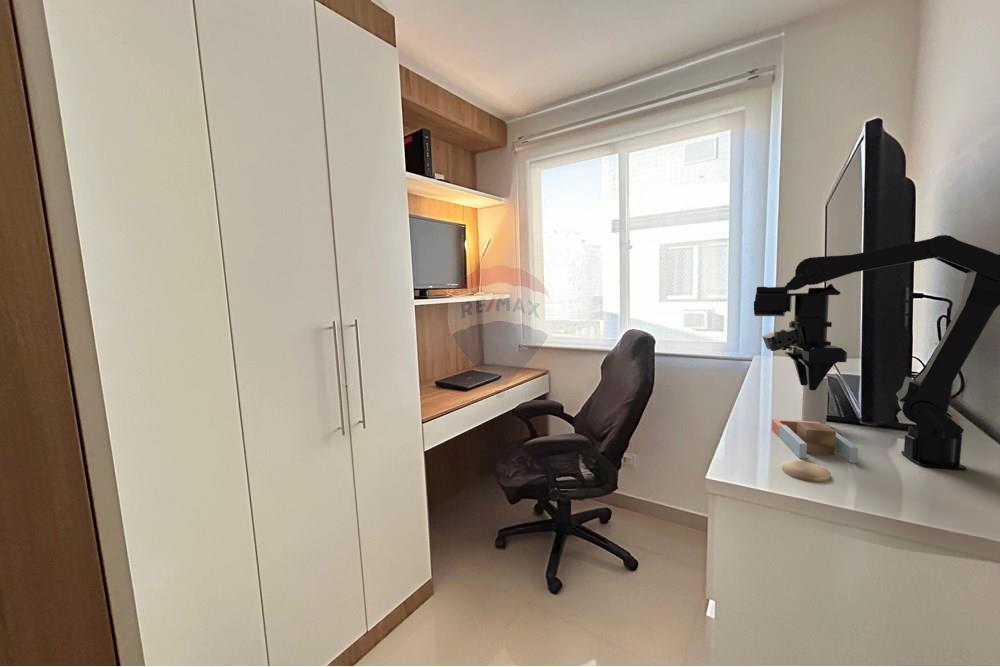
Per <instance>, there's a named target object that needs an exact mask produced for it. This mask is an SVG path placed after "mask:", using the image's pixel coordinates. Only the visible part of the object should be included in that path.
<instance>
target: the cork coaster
mask: <svg viewBox="0 0 1000 667" xmlns="http://www.w3.org/2000/svg"><path fill="white" fill-rule="evenodd" d="M781 470H782V472H784V473H785V474H787V475H789V476H790V477H792V478H796V479H799V480H803V481H808V482H820V483H821V482H827V481H829V480H831V472H830V470H828V469H827V468H825V467H823V466H821V465H819V464H816V463H813V462H810V461H809V462H808V461H803V460H786V461H783V462H782V466H781Z"/></svg>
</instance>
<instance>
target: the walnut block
mask: <svg viewBox="0 0 1000 667" xmlns="http://www.w3.org/2000/svg"><path fill="white" fill-rule="evenodd" d="M836 433H837V431H836V430H835V429H833V428H832V427H830V426H829V425H828V424H827V423H826V424H821V423H805V422H797V436H798V437H800V438H801V439H802V440H803V441H804V442H805V443H806V444H807V454H813V455H815V454H817V455H828V456H829V455H830V456H836V455H835V454H836V451H835V441H836Z"/></svg>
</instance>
